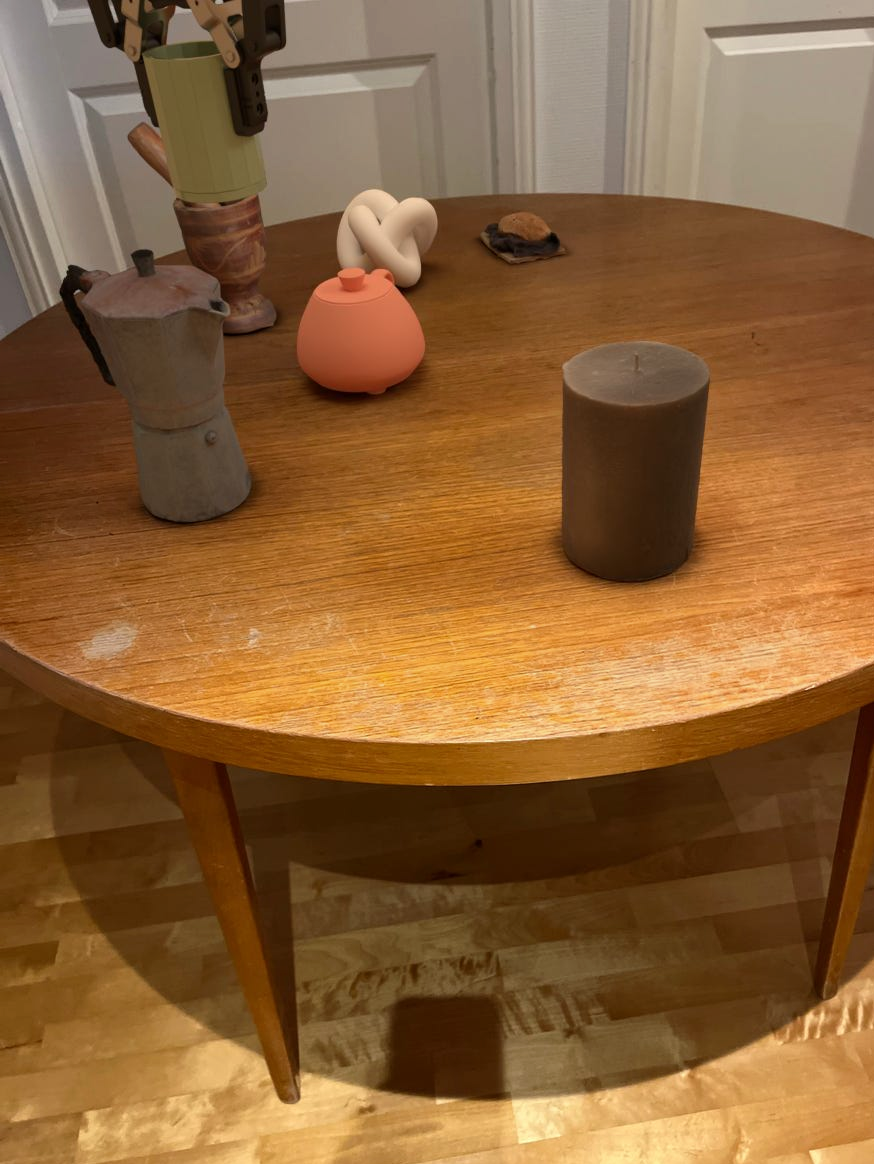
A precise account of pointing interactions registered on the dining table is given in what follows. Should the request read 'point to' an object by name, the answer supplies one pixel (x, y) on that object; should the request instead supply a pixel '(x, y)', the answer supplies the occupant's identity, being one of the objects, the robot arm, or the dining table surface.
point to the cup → (201, 125)
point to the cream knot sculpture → (386, 235)
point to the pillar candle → (632, 457)
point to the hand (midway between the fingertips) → (209, 128)
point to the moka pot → (166, 380)
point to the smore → (521, 238)
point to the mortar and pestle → (219, 242)
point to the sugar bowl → (359, 333)
